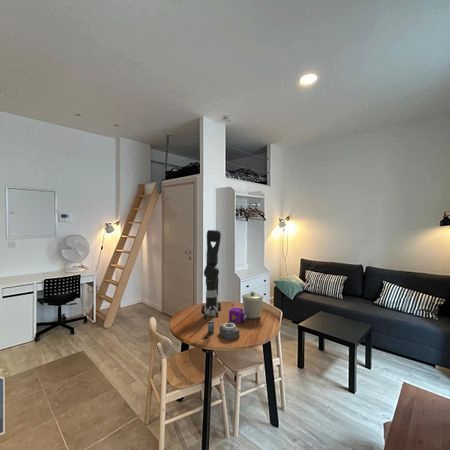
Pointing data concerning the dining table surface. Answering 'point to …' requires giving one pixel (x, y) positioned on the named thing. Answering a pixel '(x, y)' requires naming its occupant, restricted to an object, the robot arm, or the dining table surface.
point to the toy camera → (236, 315)
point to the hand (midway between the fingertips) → (211, 318)
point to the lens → (210, 327)
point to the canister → (252, 305)
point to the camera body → (229, 331)
